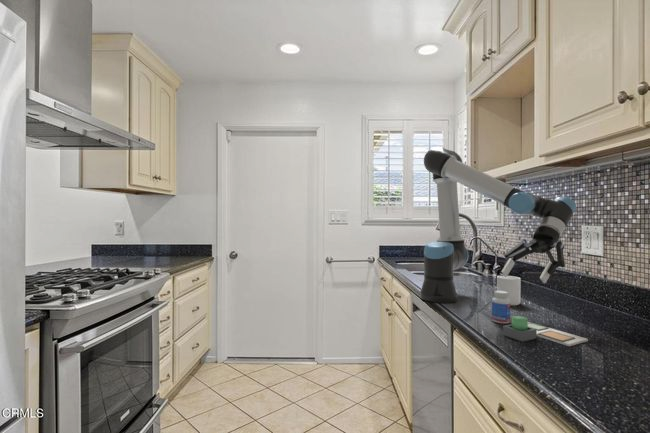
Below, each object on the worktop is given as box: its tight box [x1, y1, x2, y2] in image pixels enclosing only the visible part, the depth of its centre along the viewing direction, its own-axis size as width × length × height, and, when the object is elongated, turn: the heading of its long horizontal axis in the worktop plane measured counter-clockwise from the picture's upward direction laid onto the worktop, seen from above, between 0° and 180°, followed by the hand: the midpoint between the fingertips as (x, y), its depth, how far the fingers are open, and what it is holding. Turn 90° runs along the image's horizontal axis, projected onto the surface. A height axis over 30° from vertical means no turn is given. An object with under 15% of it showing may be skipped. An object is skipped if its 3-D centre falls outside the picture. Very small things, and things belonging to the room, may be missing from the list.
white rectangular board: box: [528, 321, 589, 347], centre depth 101 cm, size 17×9×1 cm, turn 26°
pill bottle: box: [491, 290, 511, 325], centre depth 113 cm, size 6×5×10 cm
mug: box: [496, 275, 522, 306], centre depth 139 cm, size 12×8×10 cm
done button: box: [511, 315, 529, 331], centre depth 99 cm, size 4×4×4 cm
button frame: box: [502, 323, 537, 342], centre depth 99 cm, size 6×6×3 cm
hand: (522, 277), depth 117 cm, fingers open, 13 cm apart
